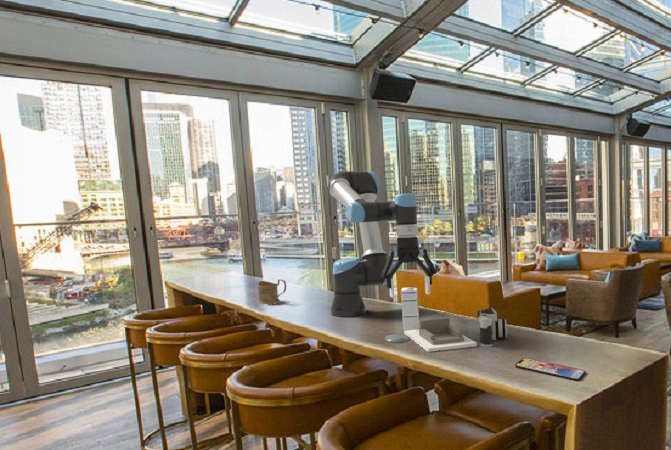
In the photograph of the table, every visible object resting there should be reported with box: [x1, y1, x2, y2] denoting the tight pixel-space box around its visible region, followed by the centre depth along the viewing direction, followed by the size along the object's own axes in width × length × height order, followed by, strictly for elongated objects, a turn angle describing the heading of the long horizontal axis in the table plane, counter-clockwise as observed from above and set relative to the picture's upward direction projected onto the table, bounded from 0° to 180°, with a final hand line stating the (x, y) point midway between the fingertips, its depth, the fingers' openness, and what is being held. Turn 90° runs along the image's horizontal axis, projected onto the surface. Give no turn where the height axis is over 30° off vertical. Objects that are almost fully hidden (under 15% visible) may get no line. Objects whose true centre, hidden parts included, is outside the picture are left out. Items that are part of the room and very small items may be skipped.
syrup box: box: [400, 286, 420, 331], centre depth 146 cm, size 6×6×14 cm
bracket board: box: [403, 317, 478, 353], centre depth 132 cm, size 20×16×6 cm
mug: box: [256, 279, 287, 305], centre depth 203 cm, size 12×18×12 cm, turn 57°
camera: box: [477, 307, 508, 347], centre depth 130 cm, size 16×9×10 cm, turn 159°
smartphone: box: [514, 357, 586, 382], centre depth 103 cm, size 7×1×15 cm
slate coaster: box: [384, 333, 410, 344], centre depth 135 cm, size 8×8×1 cm
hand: (410, 295), depth 146 cm, fingers open, 13 cm apart
